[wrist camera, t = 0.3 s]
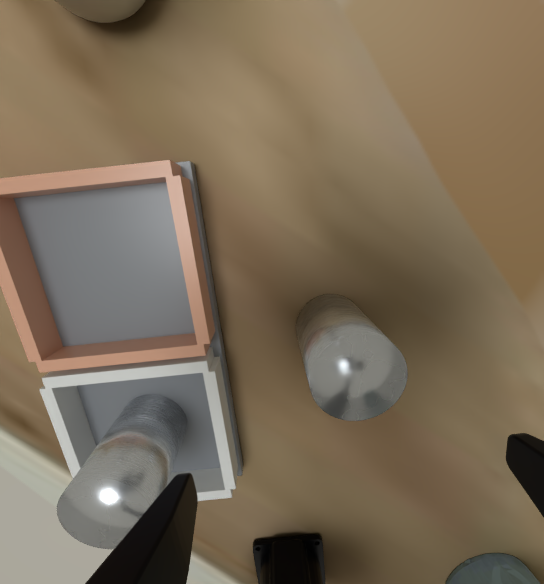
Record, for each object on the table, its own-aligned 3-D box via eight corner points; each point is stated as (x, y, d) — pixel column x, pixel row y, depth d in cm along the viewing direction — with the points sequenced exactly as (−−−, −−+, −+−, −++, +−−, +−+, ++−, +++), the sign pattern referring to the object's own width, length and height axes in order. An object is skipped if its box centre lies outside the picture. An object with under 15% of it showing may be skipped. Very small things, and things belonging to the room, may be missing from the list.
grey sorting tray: (243, 464, 24) (240, 498, 22) (105, 478, 25) (83, 514, 22) (193, 163, 18) (180, 154, 15) (6, 184, 18) (-44, 178, 15)
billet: (192, 445, 23) (161, 544, 16) (130, 451, 23) (72, 553, 16) (180, 390, 21) (141, 474, 14) (114, 397, 21) (44, 483, 15)
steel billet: (362, 352, 22) (406, 415, 15) (298, 359, 22) (312, 425, 15) (361, 290, 20) (409, 329, 14) (292, 297, 21) (306, 339, 14)
